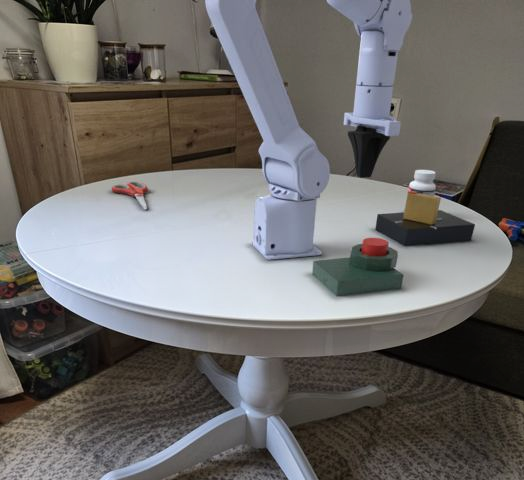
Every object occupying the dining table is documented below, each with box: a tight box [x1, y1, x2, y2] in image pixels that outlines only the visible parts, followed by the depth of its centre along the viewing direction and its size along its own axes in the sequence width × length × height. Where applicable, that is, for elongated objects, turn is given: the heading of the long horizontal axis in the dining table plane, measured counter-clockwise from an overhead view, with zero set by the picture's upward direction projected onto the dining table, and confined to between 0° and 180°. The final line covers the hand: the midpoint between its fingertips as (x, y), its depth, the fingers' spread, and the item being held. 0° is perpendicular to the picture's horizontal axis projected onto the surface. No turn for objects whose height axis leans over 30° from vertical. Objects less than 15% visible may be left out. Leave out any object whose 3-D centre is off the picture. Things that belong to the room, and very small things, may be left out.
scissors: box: [111, 181, 149, 211], centre depth 107 cm, size 8×21×2 cm, turn 35°
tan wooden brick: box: [403, 191, 442, 225], centre depth 85 cm, size 6×2×5 cm, turn 49°
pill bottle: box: [403, 169, 437, 212], centre depth 99 cm, size 5×5×9 cm
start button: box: [361, 237, 390, 256], centre depth 68 cm, size 4×4×2 cm
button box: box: [311, 243, 405, 297], centre depth 68 cm, size 11×8×4 cm
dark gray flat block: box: [374, 209, 476, 247], centre depth 88 cm, size 14×11×3 cm
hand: (363, 176), depth 82 cm, fingers closed
